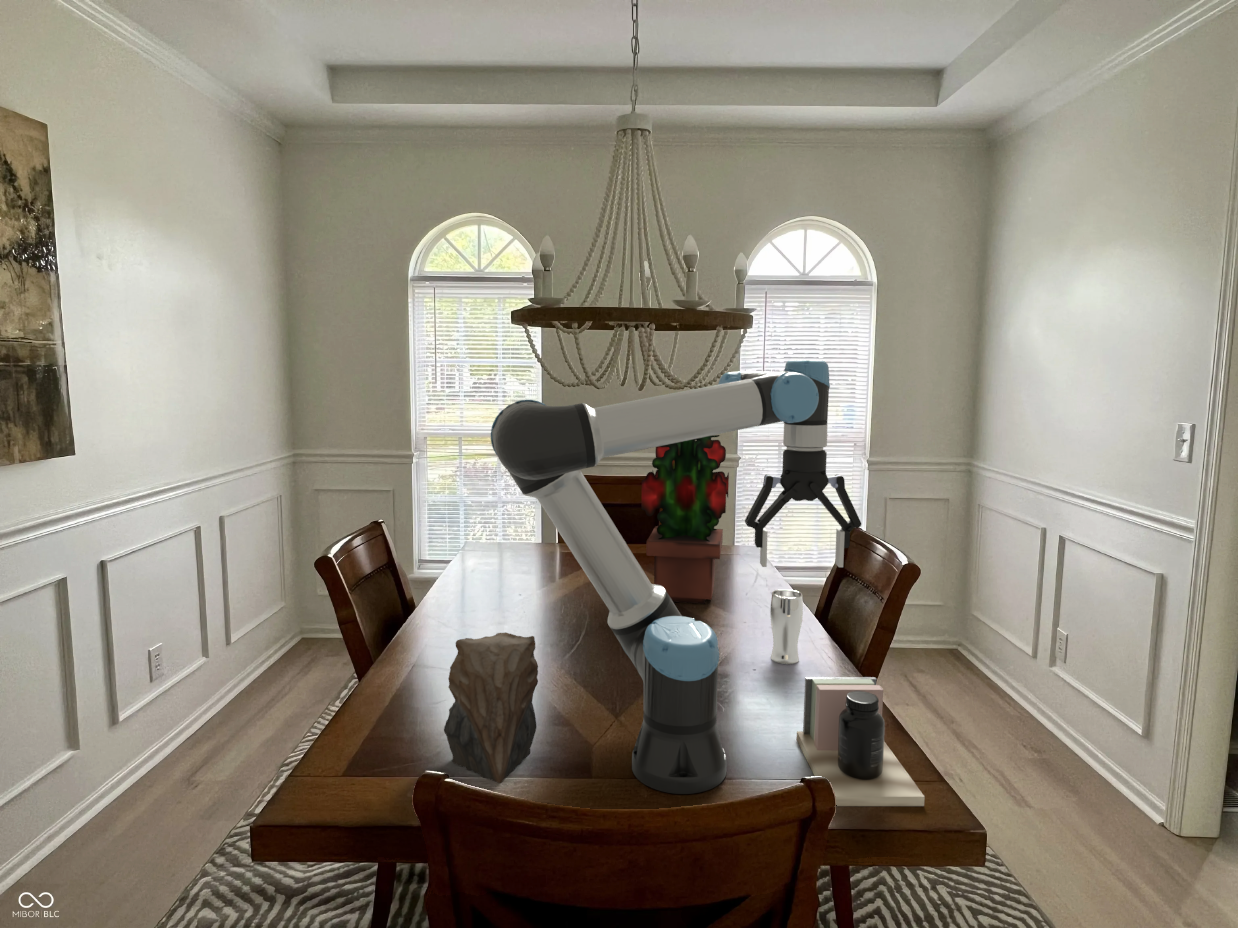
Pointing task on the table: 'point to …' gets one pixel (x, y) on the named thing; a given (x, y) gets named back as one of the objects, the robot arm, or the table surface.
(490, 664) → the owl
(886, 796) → the shelf board
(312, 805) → the table surface
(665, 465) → the potted plant
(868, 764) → the supplement bottle
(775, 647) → the beer glass
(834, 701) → the book row
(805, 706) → the bookend
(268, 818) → the table surface
